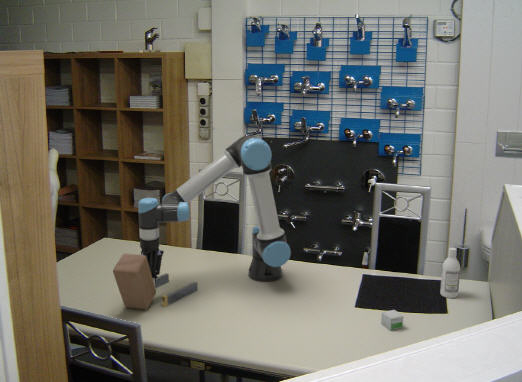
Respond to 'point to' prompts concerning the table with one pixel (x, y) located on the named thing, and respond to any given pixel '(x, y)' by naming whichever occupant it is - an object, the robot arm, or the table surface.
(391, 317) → the small box
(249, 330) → the table surface
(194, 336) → the table surface
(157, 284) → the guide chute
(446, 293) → the bath foam
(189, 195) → the robot arm
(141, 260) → the wooden block
